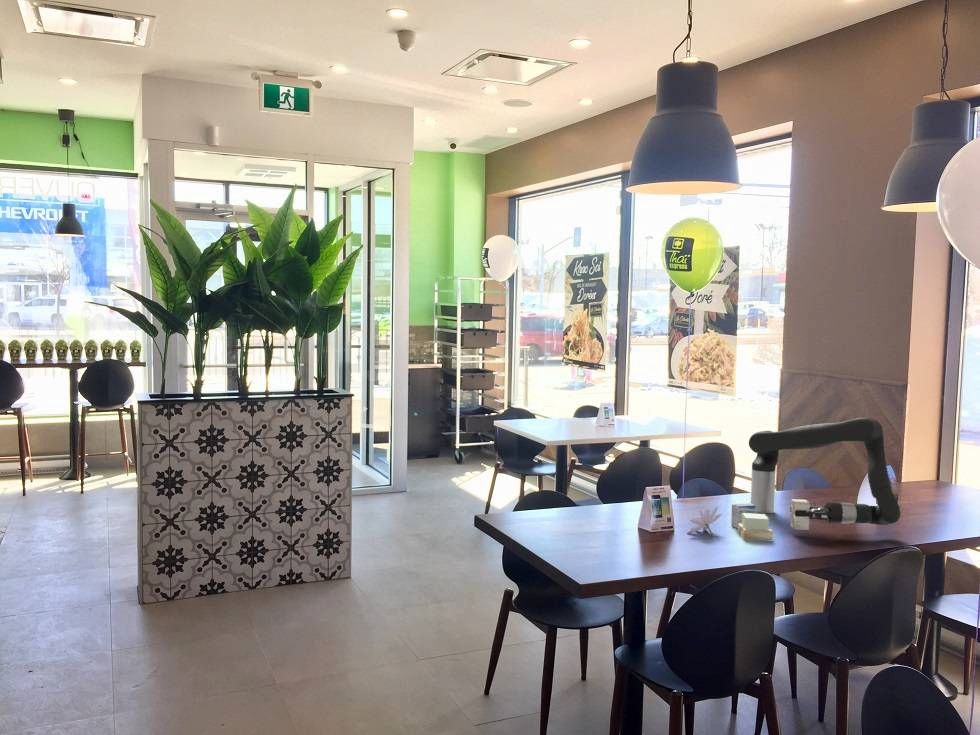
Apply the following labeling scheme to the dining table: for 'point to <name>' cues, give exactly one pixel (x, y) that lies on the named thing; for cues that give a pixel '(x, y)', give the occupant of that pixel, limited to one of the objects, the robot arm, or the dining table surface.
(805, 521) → the tall white block
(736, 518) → the medicine box
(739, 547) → the dining table surface
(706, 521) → the water lily
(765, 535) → the tower base block
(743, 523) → the tower top block
